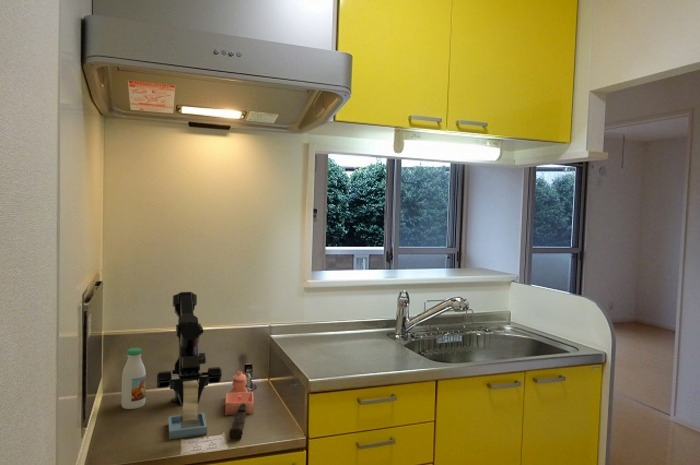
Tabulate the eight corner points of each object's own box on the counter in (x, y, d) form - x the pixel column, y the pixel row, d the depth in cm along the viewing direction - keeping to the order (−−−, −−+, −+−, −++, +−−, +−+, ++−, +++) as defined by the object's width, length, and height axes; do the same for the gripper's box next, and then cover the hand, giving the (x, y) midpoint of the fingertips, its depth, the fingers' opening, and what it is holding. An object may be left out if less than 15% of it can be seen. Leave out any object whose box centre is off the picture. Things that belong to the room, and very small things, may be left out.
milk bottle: (121, 411, 164) (122, 353, 163) (120, 402, 171) (121, 347, 170) (146, 407, 167) (147, 351, 166) (144, 399, 174) (145, 345, 173)
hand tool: (241, 441, 147) (242, 426, 147) (228, 441, 147) (229, 426, 146) (251, 415, 166) (252, 401, 166) (239, 414, 166) (240, 401, 165)
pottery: (253, 413, 166) (254, 385, 166) (225, 415, 164) (225, 387, 164) (251, 393, 184) (252, 368, 184) (226, 395, 182) (227, 369, 181)
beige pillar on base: (180, 421, 146) (181, 380, 145) (197, 419, 148) (198, 379, 147) (181, 428, 141) (182, 387, 140) (198, 426, 143) (200, 385, 142)
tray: (168, 424, 156) (168, 416, 156) (203, 419, 160) (203, 412, 160) (169, 439, 146) (169, 431, 145) (206, 434, 150) (207, 426, 150)
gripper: (157, 345, 143) (156, 396, 134) (222, 341, 150) (225, 389, 141) (157, 363, 151) (156, 412, 141) (218, 358, 158) (221, 404, 148)
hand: (190, 404), depth 143 cm, fingers closed on beige pillar on base, 4 cm apart
